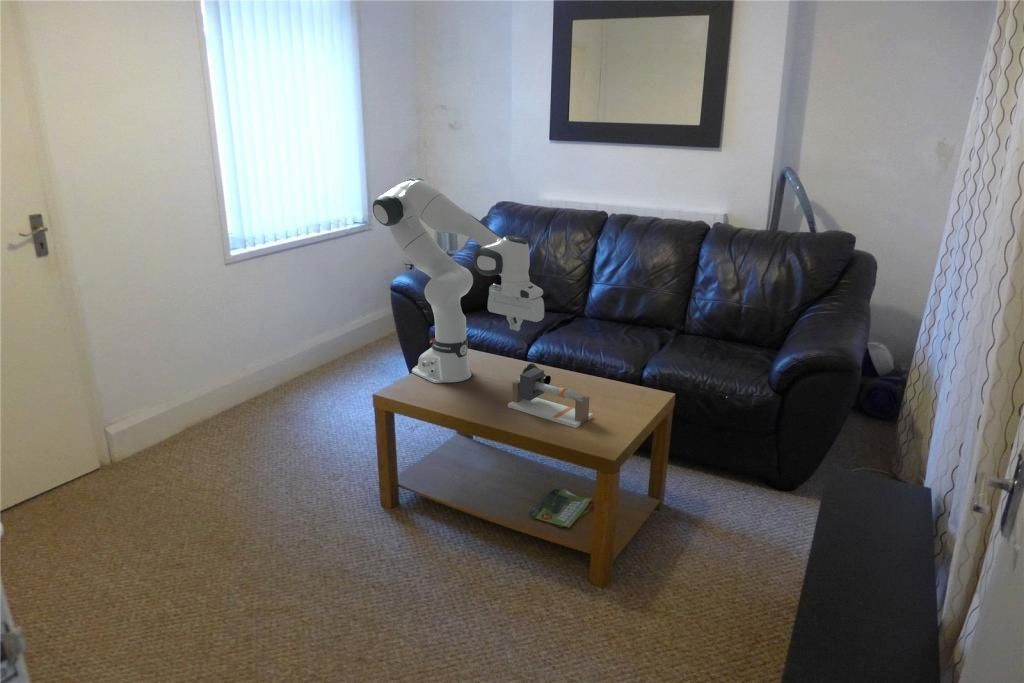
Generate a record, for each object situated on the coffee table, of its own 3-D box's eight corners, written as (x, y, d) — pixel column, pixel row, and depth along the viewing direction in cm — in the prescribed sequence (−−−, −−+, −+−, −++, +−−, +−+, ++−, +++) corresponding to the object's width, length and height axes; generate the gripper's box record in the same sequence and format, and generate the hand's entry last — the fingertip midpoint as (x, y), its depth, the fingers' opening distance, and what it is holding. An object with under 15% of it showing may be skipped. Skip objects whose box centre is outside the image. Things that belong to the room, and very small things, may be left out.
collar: (519, 397, 227) (519, 374, 225) (533, 390, 233) (534, 367, 231) (529, 400, 225) (530, 377, 222) (543, 393, 231) (544, 370, 228)
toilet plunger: (533, 377, 254) (552, 386, 249) (500, 397, 242) (519, 408, 238) (535, 359, 250) (553, 368, 246) (501, 379, 238) (520, 389, 234)
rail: (507, 407, 230) (508, 380, 227) (525, 397, 238) (525, 371, 234) (575, 428, 215) (577, 399, 212) (592, 417, 223) (593, 389, 220)
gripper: (483, 284, 225) (483, 326, 230) (535, 295, 214) (535, 338, 218) (495, 281, 230) (495, 321, 234) (547, 290, 218) (546, 333, 223)
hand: (515, 329), depth 226 cm, fingers closed
